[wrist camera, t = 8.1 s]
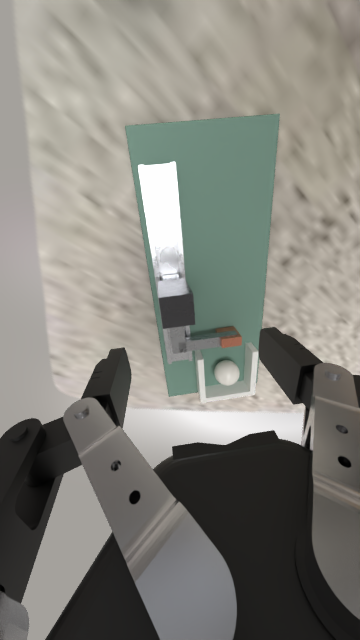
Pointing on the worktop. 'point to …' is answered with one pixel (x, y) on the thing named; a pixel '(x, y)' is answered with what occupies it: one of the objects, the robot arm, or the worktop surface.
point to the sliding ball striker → (188, 318)
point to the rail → (164, 232)
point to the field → (215, 227)
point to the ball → (226, 372)
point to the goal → (229, 391)
